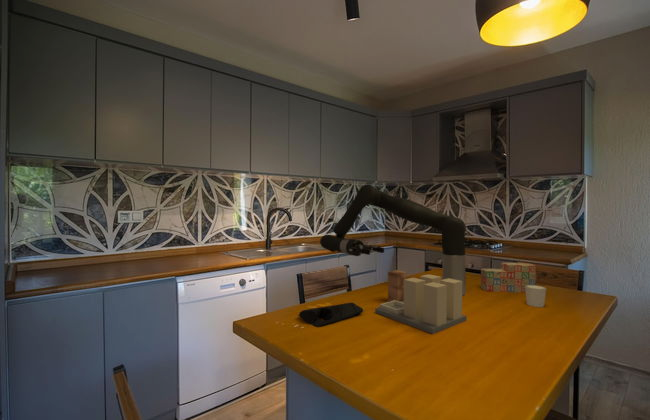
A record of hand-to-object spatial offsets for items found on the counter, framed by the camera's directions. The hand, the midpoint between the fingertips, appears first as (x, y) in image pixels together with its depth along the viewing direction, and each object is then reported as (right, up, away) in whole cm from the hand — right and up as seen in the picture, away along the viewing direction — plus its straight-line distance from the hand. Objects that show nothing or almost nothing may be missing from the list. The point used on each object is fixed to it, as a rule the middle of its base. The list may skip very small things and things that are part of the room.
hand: (376, 251), depth 138 cm
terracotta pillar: (+7, -19, -9) cm, 22 cm away
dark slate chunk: (-20, -20, -24) cm, 37 cm away
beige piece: (+60, -19, -13) cm, 64 cm away
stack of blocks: (+61, -19, +9) cm, 65 cm away
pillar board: (+11, -19, -26) cm, 34 cm away
